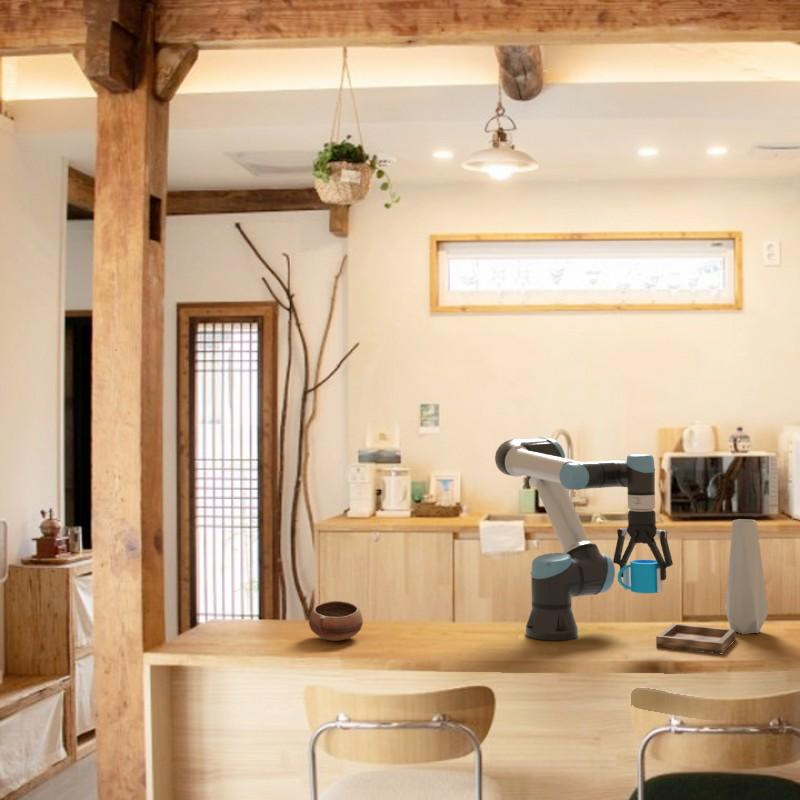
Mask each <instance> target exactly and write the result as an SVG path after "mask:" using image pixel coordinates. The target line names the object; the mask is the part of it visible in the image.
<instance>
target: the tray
mask: <svg viewBox="0 0 800 800" xmlns="http://www.w3.org/2000/svg"><path fill="white" fill-rule="evenodd" d="M736 635H737V633H736V630H734V629H731V628H723V627H715V626H714V627H713V626H712V627H711V626H703V625H702V626H701V625H693V624H683V623H674V622H673V623H671V624H669V626H667V627H666V628H665V629H663V630H662V631H661V632H659V633H658V634H657V635H656V636H655V639H656V640H655V641H656V643H655V644H656V645H655V646H658V647H657V648H661V647H667V648H666V649H670V648H673V649H672V650H678V649H680V650H679V651H687V650H692V651H691V652H696V651H702V652H701V653H705V652H713V653H723V652H724V651H725V650H726V649H727V648H728V647H729V645H730V644H731V643H732V642H733V641H734V640H735V639H736V640H737V638H736V637H737V636H736ZM736 640H735V641H736ZM735 641H734V642H735ZM734 642H733V643H734ZM733 643H732V644H733ZM729 648H730V647H729ZM729 648H728V649H729ZM728 649H727V650H728ZM727 650H726V651H727ZM703 651H704V652H703ZM726 651H725V652H726ZM725 652H724V653H725ZM713 653H712V654H713ZM724 653H723V654H724Z"/></svg>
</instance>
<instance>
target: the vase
mask: <svg viewBox="0 0 800 800" xmlns="http://www.w3.org/2000/svg"><path fill="white" fill-rule="evenodd" d="M761 552H762V551H761V544H760V537H759V529H758V523H757V521H756V520H755V519H745V518H744V519H743V518H742V519H741V518H739V519H734V520H732V523H731V536H730V547H729V560H728V571H727V583H726V595H725V596H726V597H725V605H724V606H725V608H724V609H725V614H726V618H727V621H728V624H729V629H734V630H736V632H738V633H737V634H740V633H743V634H742V635H750V634H749V633H758V634H759V633H760V631H761V629H762V627H763V625H764V623H765V621H766V620H767V617H768V615H769V614H768V613H769V612H768V611H769V610H768V602H767V593H766V586H765V576H764V569H763V562H762V553H761Z"/></svg>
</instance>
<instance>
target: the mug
mask: <svg viewBox="0 0 800 800" xmlns="http://www.w3.org/2000/svg"><path fill="white" fill-rule="evenodd" d="M626 565H627V566H624V567H623V568H622V569H621V570H620V569H619V571H618V573H617V581H618V583H619V584H620V586H622V587H623V589H624V588H627V590H630V591H631V592H632V593H637V594H657V593H659V592H657V569H658V568H660V567H659V565H658V563H657V561H656V559H635V560H634V559H633V560H630V564H626ZM627 568H629V570H630V585H629V586H627V585H625V584H624V583H623V579H622V577H621V574H622V573H623V571H624V570H625V569H627Z"/></svg>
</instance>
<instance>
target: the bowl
mask: <svg viewBox="0 0 800 800" xmlns="http://www.w3.org/2000/svg"><path fill="white" fill-rule="evenodd" d="M309 614H310V615H309V618H308V619H309V620H308V625H309V628H310V630H311V631H312V632H313V633H314V634H315V636H318V637H320V638H322V639H324V640H327V641H331V642H333V641H334V642H337V641H344V640H348V639H350V638H352V637H354V636H356V635H357V634H358V633H359V632H360V631H361V629H362V627H363V624H364V621H363V620H364V619H363V614H362V612H361V610H360V608H359V607H358V606H357V605H355V604H354V603H351V602H348V601H343V600H342V601H341V600H331V601H325V602H321V603H318V604H316V605H315V606H314V607H313V608H312V610H311V612H310V613H309Z"/></svg>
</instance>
